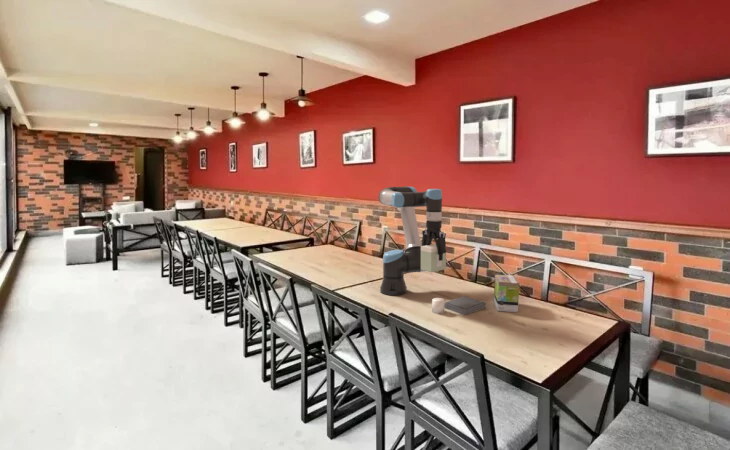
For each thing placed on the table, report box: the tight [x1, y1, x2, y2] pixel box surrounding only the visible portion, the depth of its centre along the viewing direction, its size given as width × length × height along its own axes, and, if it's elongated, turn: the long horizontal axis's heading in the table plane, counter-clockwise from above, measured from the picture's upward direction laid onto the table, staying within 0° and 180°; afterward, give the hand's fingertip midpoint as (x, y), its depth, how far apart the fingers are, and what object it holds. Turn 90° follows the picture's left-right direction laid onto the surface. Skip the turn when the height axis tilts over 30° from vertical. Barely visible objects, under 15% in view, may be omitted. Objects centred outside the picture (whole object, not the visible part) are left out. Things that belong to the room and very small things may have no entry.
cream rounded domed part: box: [431, 297, 446, 315], centre depth 193 cm, size 6×6×6 cm
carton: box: [421, 243, 447, 273], centre depth 199 cm, size 7×11×12 cm, turn 128°
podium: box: [445, 295, 486, 316], centre depth 198 cm, size 13×16×3 cm
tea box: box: [493, 274, 520, 313], centre depth 198 cm, size 15×10×15 cm
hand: (433, 265), depth 200 cm, fingers closed on carton, 7 cm apart
